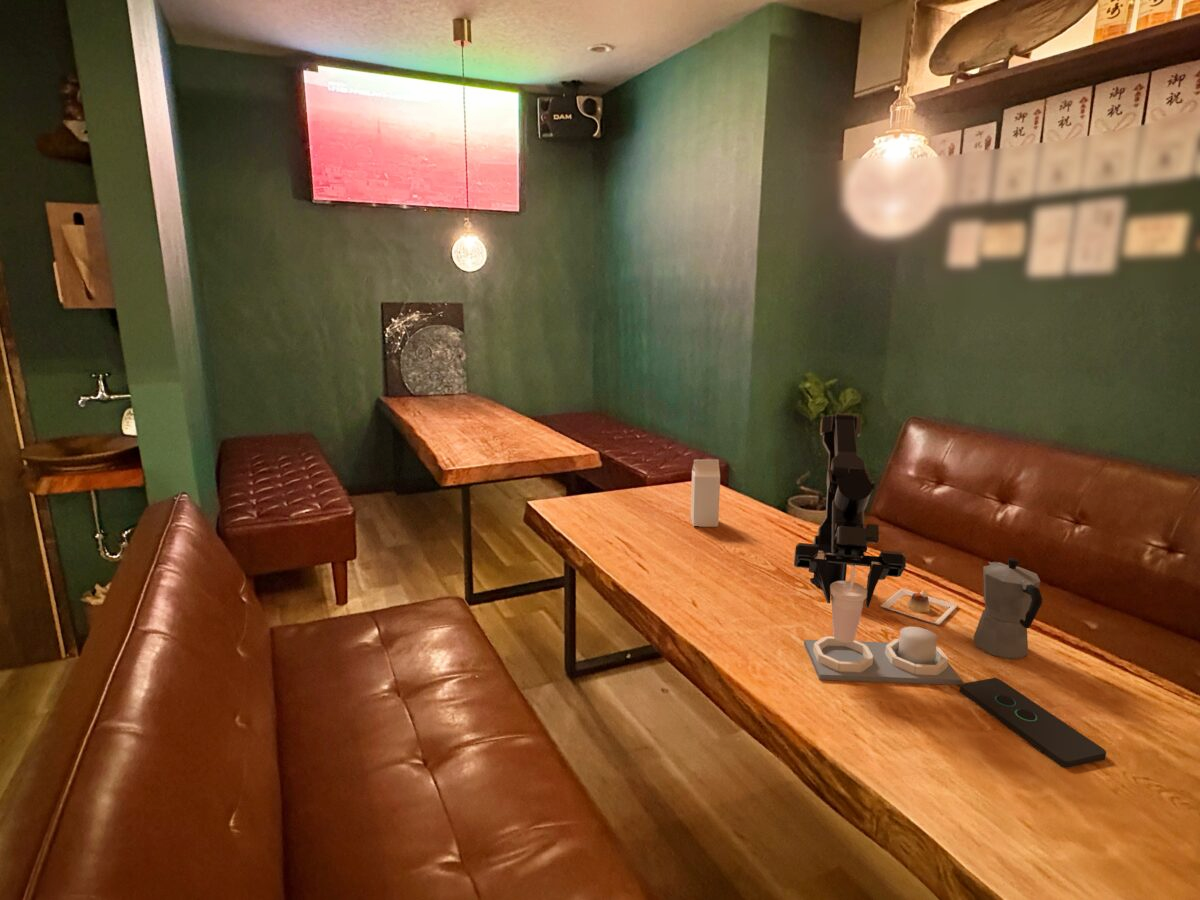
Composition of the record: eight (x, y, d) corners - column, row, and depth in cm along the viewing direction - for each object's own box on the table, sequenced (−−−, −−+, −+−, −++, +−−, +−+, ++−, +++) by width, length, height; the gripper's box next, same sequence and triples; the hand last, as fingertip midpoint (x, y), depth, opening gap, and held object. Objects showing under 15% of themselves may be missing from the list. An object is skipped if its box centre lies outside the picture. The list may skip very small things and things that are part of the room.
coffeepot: (957, 629, 134) (968, 545, 130) (1004, 629, 134) (1017, 545, 130) (1001, 672, 120) (1016, 578, 115) (1054, 672, 119) (1071, 578, 115)
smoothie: (870, 643, 120) (877, 571, 116) (838, 648, 118) (844, 575, 115) (849, 626, 126) (856, 556, 122) (818, 630, 124) (824, 560, 121)
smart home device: (997, 676, 116) (1109, 751, 97) (996, 685, 117) (1107, 761, 98) (957, 683, 114) (1064, 761, 95) (956, 692, 114) (1062, 772, 96)
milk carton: (718, 527, 192) (720, 463, 188) (693, 527, 192) (695, 463, 188) (714, 518, 199) (716, 456, 194) (690, 518, 199) (692, 456, 195)
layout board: (819, 679, 117) (821, 648, 116) (804, 644, 129) (806, 615, 128) (961, 684, 116) (965, 653, 114) (932, 648, 127) (936, 619, 126)
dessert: (879, 610, 144) (881, 589, 143) (900, 592, 152) (902, 573, 151) (938, 629, 136) (941, 608, 134) (958, 609, 144) (960, 589, 143)
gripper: (799, 501, 122) (795, 583, 115) (910, 509, 117) (914, 595, 110) (795, 527, 131) (792, 604, 124) (898, 535, 127) (901, 616, 119)
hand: (848, 604), depth 119 cm, fingers closed on smoothie, 6 cm apart
